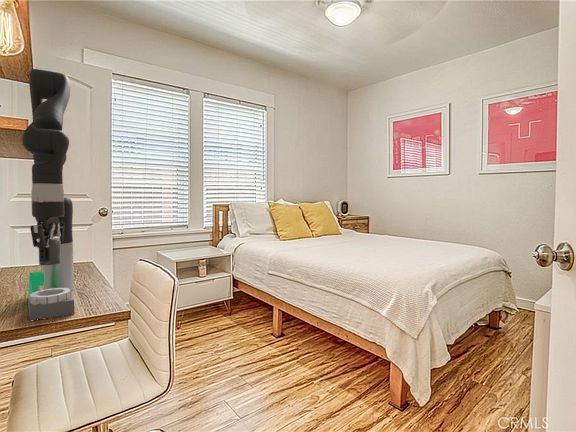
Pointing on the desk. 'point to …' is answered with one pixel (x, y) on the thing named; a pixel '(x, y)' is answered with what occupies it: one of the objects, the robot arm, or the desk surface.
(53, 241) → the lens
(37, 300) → the segmented ring socket plate
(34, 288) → the camera mount
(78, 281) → the desk surface
